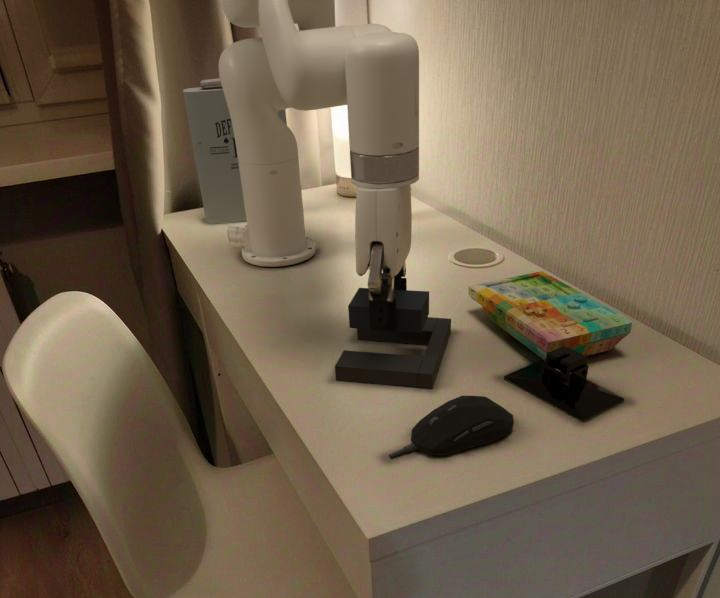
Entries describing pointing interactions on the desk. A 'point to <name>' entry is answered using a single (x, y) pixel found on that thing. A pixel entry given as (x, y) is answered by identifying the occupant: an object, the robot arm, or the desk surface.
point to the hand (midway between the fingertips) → (388, 317)
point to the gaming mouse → (459, 426)
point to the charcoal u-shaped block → (397, 357)
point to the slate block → (408, 310)
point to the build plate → (565, 384)
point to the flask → (216, 152)
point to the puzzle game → (550, 314)
